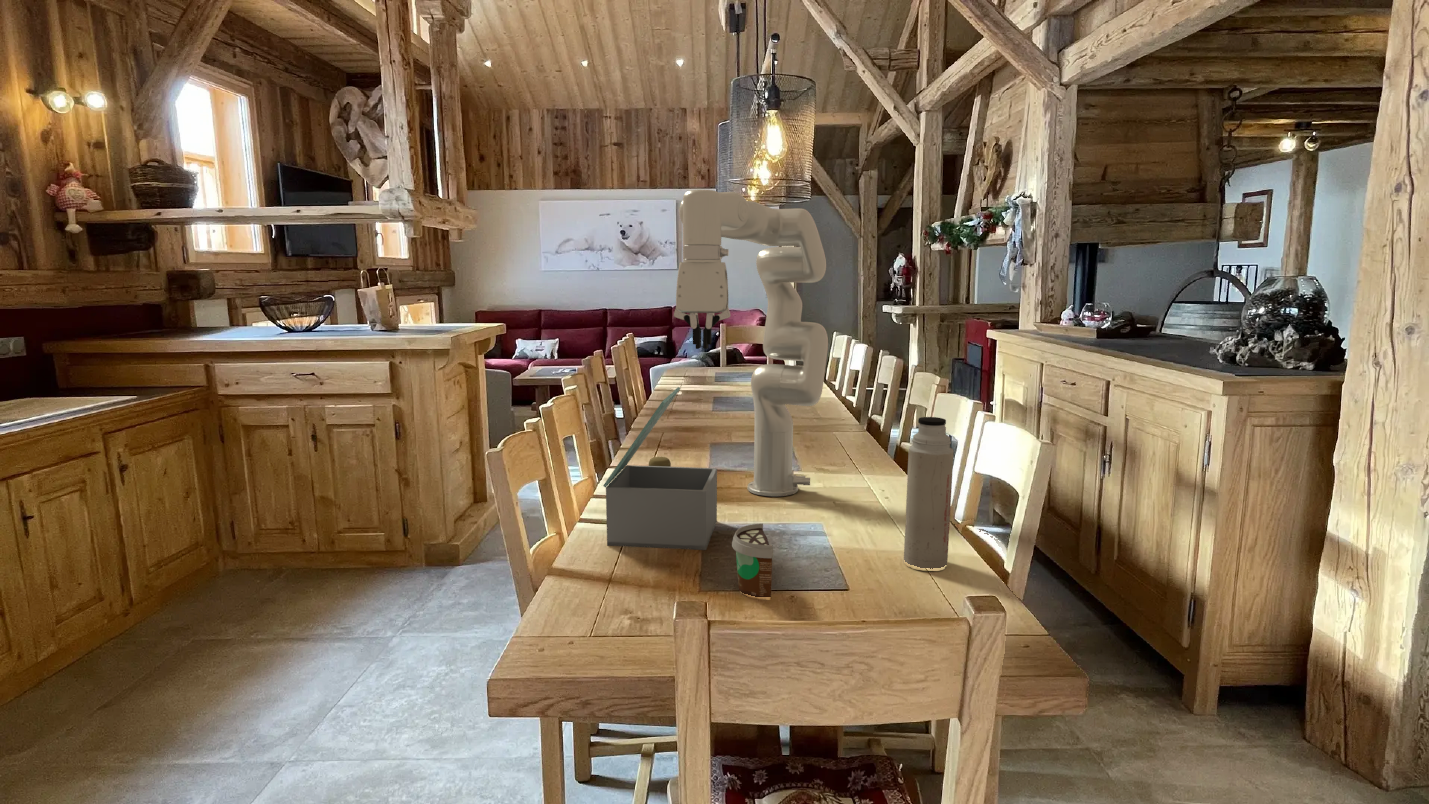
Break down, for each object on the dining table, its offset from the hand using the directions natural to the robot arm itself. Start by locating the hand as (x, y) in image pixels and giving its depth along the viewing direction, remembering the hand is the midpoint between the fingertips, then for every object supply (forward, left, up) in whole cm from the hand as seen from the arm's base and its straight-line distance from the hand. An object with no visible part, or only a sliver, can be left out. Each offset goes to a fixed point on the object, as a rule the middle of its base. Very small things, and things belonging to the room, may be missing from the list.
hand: (702, 347), depth 158 cm
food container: (-12, +27, -39) cm, 49 cm away
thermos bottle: (-44, +11, -39) cm, 60 cm away
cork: (+13, -21, -39) cm, 46 cm away
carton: (+8, 0, -39) cm, 40 cm away
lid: (+12, 0, -18) cm, 22 cm away
